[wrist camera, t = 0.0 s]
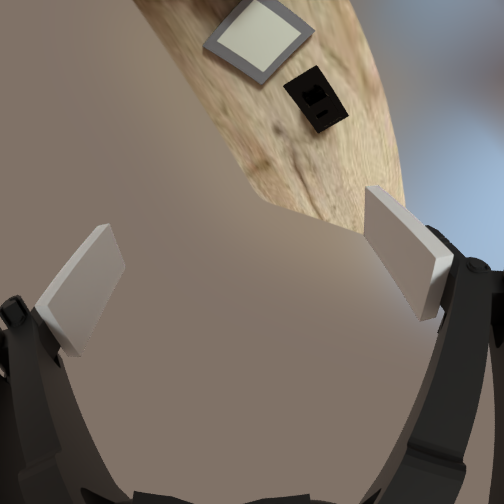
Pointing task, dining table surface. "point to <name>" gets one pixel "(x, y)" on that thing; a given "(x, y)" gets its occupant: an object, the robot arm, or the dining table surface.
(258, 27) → the blueprint board
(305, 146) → the dining table surface
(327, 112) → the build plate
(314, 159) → the dining table surface
